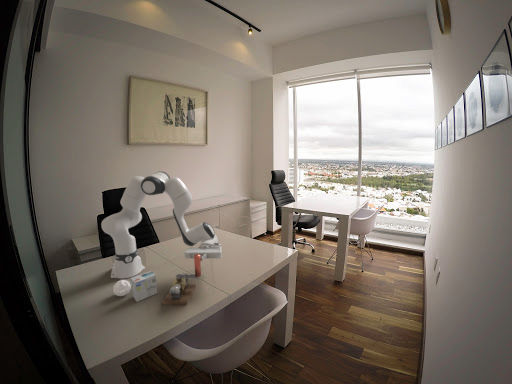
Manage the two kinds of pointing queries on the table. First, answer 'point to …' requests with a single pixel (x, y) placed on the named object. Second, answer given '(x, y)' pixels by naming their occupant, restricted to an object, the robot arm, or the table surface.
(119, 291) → the white frosted cupcake
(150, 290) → the light bulb box
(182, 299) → the mounting board
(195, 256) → the lever
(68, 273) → the table surface
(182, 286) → the valve pipe
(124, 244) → the robot arm
